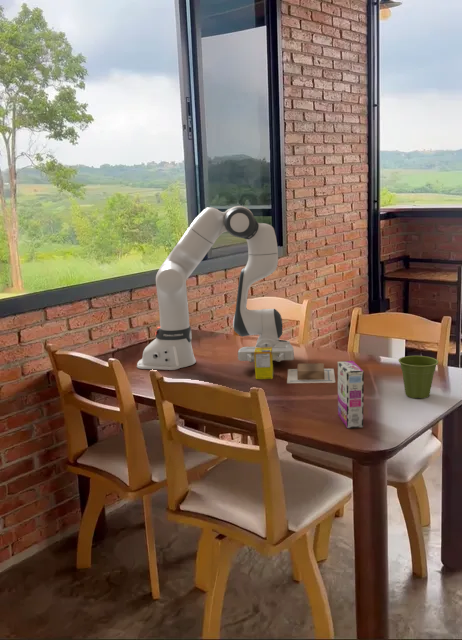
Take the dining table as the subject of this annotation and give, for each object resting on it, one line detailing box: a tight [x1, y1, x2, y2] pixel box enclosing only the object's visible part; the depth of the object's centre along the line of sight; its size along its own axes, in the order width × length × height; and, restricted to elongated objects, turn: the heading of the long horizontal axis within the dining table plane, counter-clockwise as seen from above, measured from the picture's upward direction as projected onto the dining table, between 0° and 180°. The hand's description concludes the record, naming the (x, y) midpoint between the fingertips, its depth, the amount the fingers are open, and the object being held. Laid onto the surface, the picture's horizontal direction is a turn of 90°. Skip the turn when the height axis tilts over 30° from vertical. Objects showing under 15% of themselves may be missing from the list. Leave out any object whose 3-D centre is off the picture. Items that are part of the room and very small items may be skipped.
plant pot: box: [398, 355, 439, 399], centre depth 206 cm, size 12×12×11 cm
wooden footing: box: [296, 362, 325, 380], centre depth 228 cm, size 9×9×3 cm
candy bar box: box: [337, 360, 365, 429], centre depth 187 cm, size 11×5×16 cm, turn 5°
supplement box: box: [254, 347, 274, 380], centre depth 229 cm, size 6×6×11 cm
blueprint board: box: [286, 368, 336, 384], centre depth 228 cm, size 16×16×1 cm
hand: (264, 359), depth 233 cm, fingers open, 8 cm apart
